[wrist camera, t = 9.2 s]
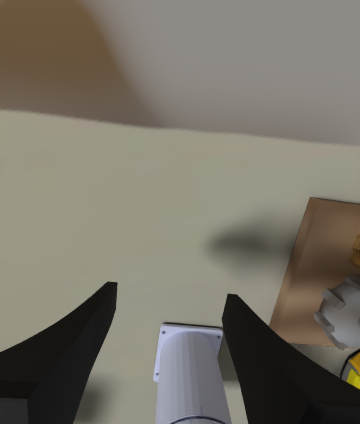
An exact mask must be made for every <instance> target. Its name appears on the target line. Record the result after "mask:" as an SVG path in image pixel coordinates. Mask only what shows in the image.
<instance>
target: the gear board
mask: <svg viewBox="0 0 360 424" xmlns="http://www.w3.org/2000/svg"><path fill="white" fill-rule="evenodd" d="M359 233H360V204H355V203H348V202H341V201H333V200H326V199H319V198H312V197H310V198H309V201H308V205H307V208H306V211H305V214H304V217H303V220H302V223H301V227H300V230H299V233H298V236H297V239H296V242H295V246H294V249H293V252H292V255H291V258H290V261H289V264H288V268H287V271H286V274H285V277H284V280H283V283H282V286H281V290H280V293H279V296H278V299H277V302H276V305H275V309H274V312H273V315H272V318H271V321H270V324H269V327H270V328H271V329H272V330H273V331H274V332H275V333H277V334H278V335H279V336H280V337H281V338H282V339H284V340H285V341H286V342H287V343H296V344H308V345H319V346H331V347H337V348H339V349H341V350H344V349H345V348H355V349H360V269H358V268H357V267H355V266H353V265H352V264H351V262H350V261H349V258H351V257H352V256H353V254H352V249H354V248H353V247H352V246H353V243H354V241H355V238H356V237H360V236H359V235H358V234H359Z"/></svg>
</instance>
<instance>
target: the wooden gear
mask: <svg viewBox="0 0 360 424" xmlns="http://www.w3.org/2000/svg"><path fill="white" fill-rule="evenodd" d="M358 235H359V236H360V233H359V234H358ZM352 247H353V248H354V249H352V254H353V256H352V257H351V258H349V261H350V262H351V264H352V265H353V266H355V267H357V268H358V269H360V237H356V238H355V241H354V243H353V246H352Z"/></svg>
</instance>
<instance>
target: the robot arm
mask: <svg viewBox="0 0 360 424" xmlns="http://www.w3.org/2000/svg"><path fill="white" fill-rule="evenodd" d="M116 298H117V282H107V283H105V284H104V285H103V286H102V287H101V288H100V289H99V290H98V291H96V292H95V293H94V294H93V295H92V296H91V297H90V298H88V299H87V300H86V301H85V302H84V303H82V304H81V305H80V306H79V307H77V308H76V309H75V310H73V311H72V312H71V313H69V314H68V315H67V316H65V317H64V318H62V319H61V320H59V321H58V322H56V323H55V324H53V325H51V326H50V327H48V328H46V329H45V330H43V331H41V332H39V333H38V334H36V335H34V336H32V337H30V338H29V339H27V340H25V341H23V342H21V343H19V344H17V345H15V346H13V347H10V348H8V349H6V350H4V351H2V352H0V424H73V422H74V419H75V416H76V413H77V410H78V407H79V404H80V401H81V398H82V395H83V392H84V389H85V386H86V383H87V381H88V378H89V375H90V372H91V370H92V367H93V365H94V362H95V360H96V358H97V356H98V353H99V351H100V349H101V347H102V344H103V342H104V340H105V337H106V335H107V333H108V331H109V328H110V326H111V323H112V320H113V317H114V313H115V310H116ZM222 323H223V329H224V334H225V338H226V341H227V344H228V347H229V351H230V354H231V357H232V360H233V363H234V366H235V370H236V373H237V376H238V380H239V383H240V387H241V392H242V396H243V401H244V405H245V410H246V415H247V420H248V424H360V389H358V388H357V387H355V386H353V385H351V384H349V383H348V382H346V381H344V380H342V379H341V378H339V377H337V376H335V375H334V374H332V373H330V372H329V371H327V370H326V369H324V368H322V367H321V366H319V365H318V364H316V363H315V362H313V361H312V360H310V359H309V358H308V357H306V356H305V355H303V354H302V353H301V352H299V351H298V350H296V349H295V348H294V347H292V346H291V345H290V344H289V343H287V342H286V341H285V340H284V339H282V338H281V337H280V336H279V335H278V334H277V333H275V332H274V331H273V330H272V329H271V328H270V327H269V326H268V325H267V324H266V323H265V322H264V321H262V320H261V319H260V318H259V317H258V316H257V315H256V314H255V313H254V312H253V311H252V309H251V308H250V307H249V306H248V305H247V304H246V303H245V302H244V301H243V300H242V299H241V298H240V297H239V296H238V295H236V294H228V295H227V299H226V304H225V308H224V312H223V316H222ZM222 337H223V331H222V329H219V328H208V327H197V326H185V325H174V324H162V325H161V327H160V334H159V341H158V348H157V355H156V362H155V369H154V376H153V380H154V381H155V382H158V393H157V408H156V422H155V424H232V422H231V417H230V413H229V408H228V404H227V399H226V395H225V390H224V386H223V381H222V377H221V372H220V368H219V363H218V359H217V357H218V353H219V349H220V345H221V341H222Z"/></svg>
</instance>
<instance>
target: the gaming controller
mask: <svg viewBox="0 0 360 424" xmlns="http://www.w3.org/2000/svg"><path fill="white" fill-rule="evenodd" d="M341 379H342V380H344V381H346V382H348V383H349V384H351V385H353V386H355V387H357V388H358V389H360V352H358V353H357V354H355V355H354V356H353V357H351V358H350V359H349V360H348V362H347V364H346V366H345V368H344V371H343V375H342V378H341Z"/></svg>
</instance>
